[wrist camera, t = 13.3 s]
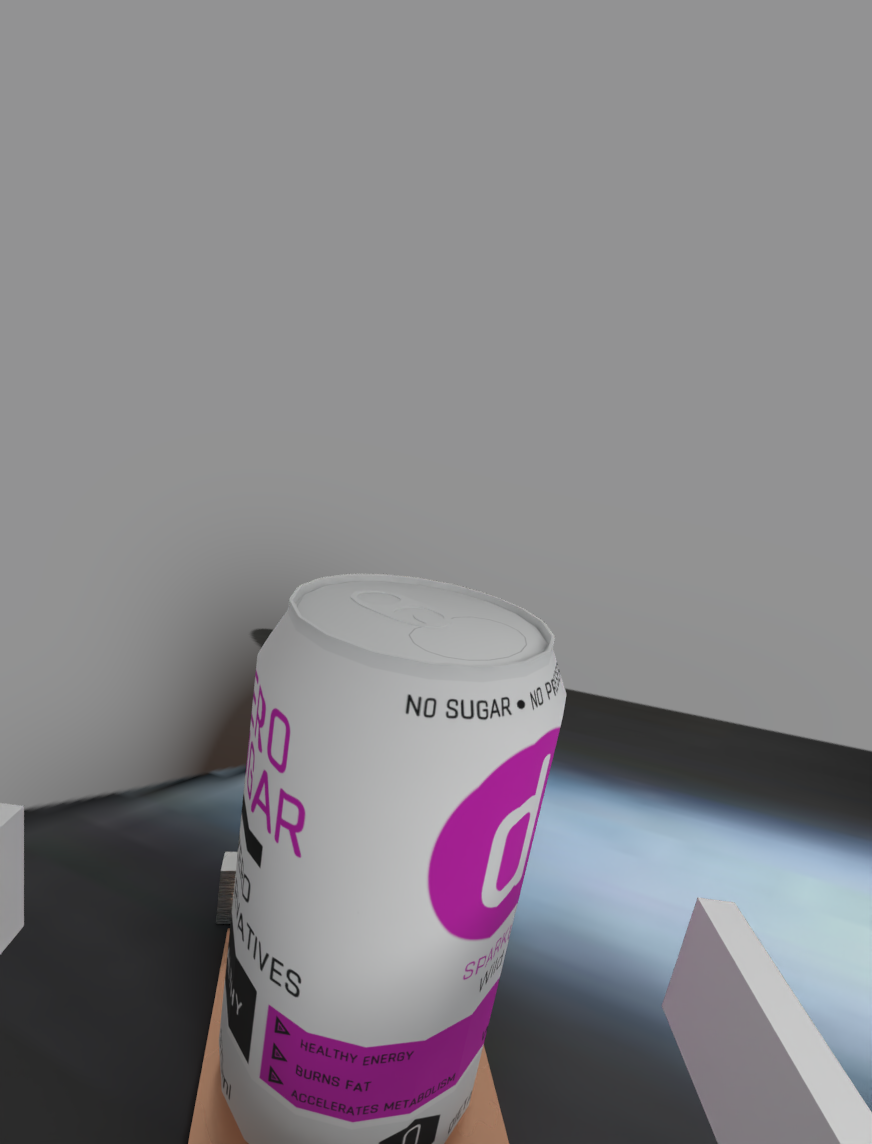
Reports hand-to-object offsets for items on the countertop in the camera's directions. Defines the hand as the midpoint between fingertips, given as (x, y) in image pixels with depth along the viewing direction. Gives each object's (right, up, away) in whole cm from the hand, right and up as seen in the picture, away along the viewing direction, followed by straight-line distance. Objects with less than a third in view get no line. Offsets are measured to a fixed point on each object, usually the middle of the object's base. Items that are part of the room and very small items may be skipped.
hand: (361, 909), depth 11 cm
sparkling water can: (-1, -9, +7) cm, 12 cm away
